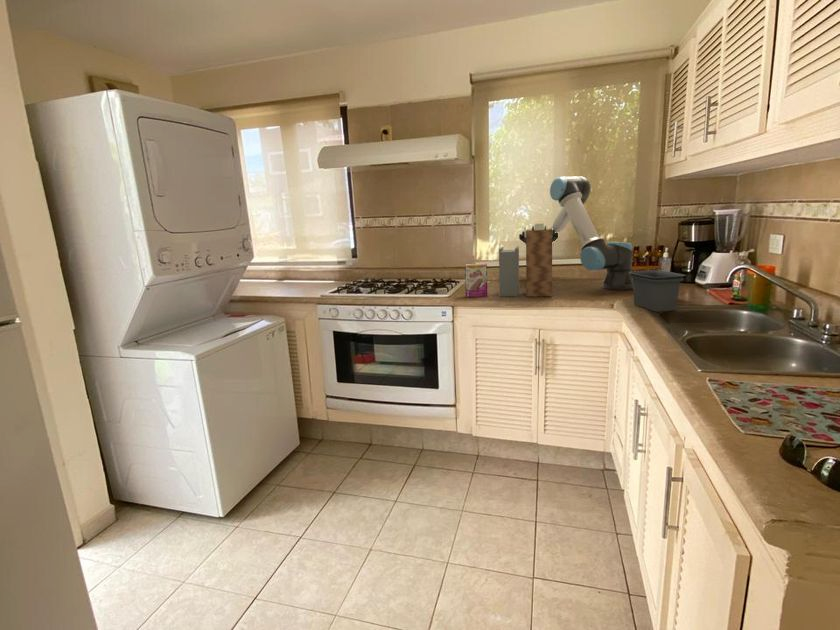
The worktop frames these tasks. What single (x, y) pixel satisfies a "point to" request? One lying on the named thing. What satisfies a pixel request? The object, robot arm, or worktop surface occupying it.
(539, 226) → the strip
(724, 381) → the worktop surface
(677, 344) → the worktop surface
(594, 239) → the robot arm
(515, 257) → the rack
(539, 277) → the stand
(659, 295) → the storage bin
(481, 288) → the candy bar box
